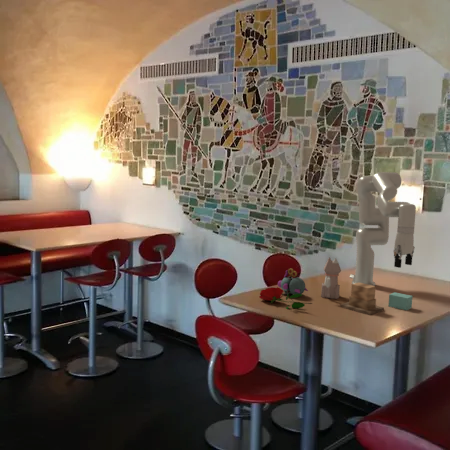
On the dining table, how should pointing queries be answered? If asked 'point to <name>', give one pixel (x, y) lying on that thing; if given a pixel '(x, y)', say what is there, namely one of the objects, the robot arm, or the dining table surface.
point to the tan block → (363, 291)
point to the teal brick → (400, 301)
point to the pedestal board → (371, 311)
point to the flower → (279, 296)
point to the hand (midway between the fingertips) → (403, 265)
